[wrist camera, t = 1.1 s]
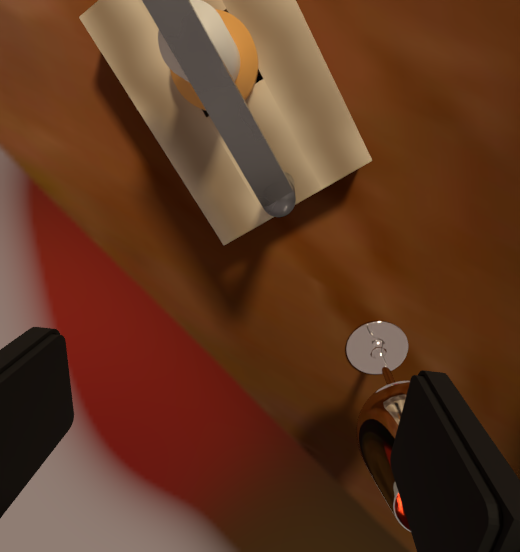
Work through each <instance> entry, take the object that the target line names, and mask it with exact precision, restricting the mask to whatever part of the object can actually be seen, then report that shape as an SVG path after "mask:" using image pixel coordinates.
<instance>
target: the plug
mask: <svg viewBox="0 0 520 552" xmlns="http://www.w3.org/2000/svg"><path fill="white" fill-rule="evenodd" d="M190 2H191V4H192V6H193V7H194V9H195V11H196V13H197V15H198V16H199V18H200V20H201V22H202V24H203V26H204V27H205V29H206V31H207V33H208V35H209V36H210V38H211V40H212V42H213V44H214V46H215V47H216V49H217V51H218V53H219V55H220V56H221V58H222V60H223V62H224V64H225V65H226V67H227V69H228V71H229V73H230V75H231V76H232V78H233V80H234V82H235V84H236V85H237V87H238V89H239V91H240V93H241V95H242V96H243V98H244V100H246V99H247V97H248V96H249V95H250V93H251V92H252V90H253V88H254V86H255V83H256V80H257V76H258V66H259V63H258V54H257V50H256V47H255V44H254V41H253V39H252V37H251V34H250V33H249V31H248V29H247V28H246V27H245V25H244V24H243V23H242V22H241V21H240V20H239V19H237V18H236V17H235V16H233V15H232V14H230V13H228V12H225V11H222V10H217V9H214V8H213V7H212V6H211V5H209V4H208V3H206V2H204V1H202V0H190ZM158 44H159V49H160V53H161V55H162V58H163V60H164V61H165V63H166V64H167V66H168V67H169V68H170V72H171V76H172V79H173V81H174V83H175V85H176V87H177V89H178V90H179V92H180V93H181V95H182V96H183V97H184V98H185V99H186V100H187V101H188V102H190V103H191V104H193V105H194V106H196V107H198V108H200V109H203V110H206V109H205V107H204V106H203V104H202V102H201V101H200V99H199V97H198V95H197V94H196V92H195V90H194V89H193V87H192V85H191V83H190V82H189V80H188V78H187V77H186V75H185V73H184V71H183V70H182V68H181V66H180V65H179V63H178V61H177V59H176V58H175V56H174V54H173V53H172V51H171V49H170V47H169V46H168V44H167V42H166V41H165V39H164V37H163V35H162V34H161V32H160V30H159V31H158Z"/></svg>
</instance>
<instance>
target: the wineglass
mask: <svg viewBox="0 0 520 552" xmlns="http://www.w3.org/2000/svg"><path fill="white" fill-rule="evenodd" d="M407 352H408V340H407V337H406V335H405V334H404V332H403V331H402V330H401V329H400V328H399V327H398V326H396V325H394V324H392V323H390V322H386V321H371V322H367V323H365V324H362V325H361V326H359V327H358V328H356V329H355V330H354V331H353V332H352V333H351V335H350V336H349V338H348V341H347V345H346V353H347V356H348V359H349V361H350V362H351V364H352V365H353V366H354V367H355V368H357V369H358V370H360V371H362V372H365V373H369V374H383V376H384V378H385V381H386V383H387V385H386V386H384V387H382V388H380V389H379V390H377V391H376V392H375V393H373V394H372V395H371V396H370V397H369V398H368V400H367V401H366V402H365V404H364V405H363V407H362V409H361V411H360V414H359V417H358V421H357V427H356V437H357V443H358V447H359V450H360V453H361V456H362V458H363V460H364V463H365V465H366V467H367V469H368V470H369V472H370V474H371V476H372V478H373V480H374V481H375V483H376V485H377V487H378V488H379V490H380V492H381V493H382V495H383V497H384V498H385V500H386V502H387V503H388V505H389V507H390V508H391V510H392V512H393V513H394V515H395V517H396V518H397V520H398V522H399V523H400V524H401V525H402V526H403V527H404V528H405V529H407V530H408V531H410V532H411V530H410V527H409V524H408V520H407V517H406V514H405V511H404V508H403V505H402V501H401V498H400V495H399V492H398V489H397V485H396V482H395V479H394V476H393V473H392V469H391V464H390V456H391V451H392V447H393V444H394V440H395V436H396V432H397V429H398V425H399V421H400V417H401V414H402V410H403V406H404V403H405V399H406V395H407V391H408V388H409V384H410V381H399V382H395V380H394V377H393V375H392V373H391V371H392V370H393V369H395V368H397V367H398V366H399V365H400V364H401V363H402V362H403V361H404V359H405V357H406V355H407Z"/></svg>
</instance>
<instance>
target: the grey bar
mask: <svg viewBox="0 0 520 552" xmlns="http://www.w3.org/2000/svg"><path fill="white" fill-rule="evenodd" d="M142 1H143V3H144V5H145V6H146V8H147V10H148V11H149V13H150V15H151V17H152V18H153V20H154V22H155V23H156V25H157V27H158V29H159V30H160V32H161V34H162V35H163V37H164V39H165V41H166V42H167V44H168V46H169V47H170V49H171V51H172V53H173V54H174V56H175V58H176V59H177V61H178V63H179V65H180V66H181V68H182V70H183V71H184V73H185V75H186V77H187V78H188V80H189V82H190V83H191V85H192V87H193V89H194V90H195V92H196V94H197V95H198V97H199V99H200V101H201V102H202V104H203V106H204V107H205V109H206V111H207V113H208V114H209V116H210V118H211V119H212V121H213V123H214V125H215V126H216V128H217V130H218V131H219V133H220V135H221V137H222V138H223V140H224V142H225V143H226V145H227V147H228V149H229V150H230V152H231V154H232V155H233V157H234V159H235V161H236V162H237V164H238V166H239V167H240V169H241V171H242V173H243V174H244V176H245V178H246V179H247V181H248V183H249V185H250V186H251V188H252V190H253V191H254V193H255V195H256V197H257V198H258V200H259V202H260V203H261V205H262V207H263V209H264V210H265V211H266V212H267V213H268V214H269V215H271V216H274V217H283V216H286V215H287V214H289V213H290V212H291V211H292V210H293V208H294V206H295V202H296V197H295V185H294V179H293V177H292V176H291V175H290V174H289V173H287V172H284V171H283V169H282V167H281V165H280V164H279V162H278V160H277V158H276V156H275V154H274V153H273V151H272V149H271V147H270V145H269V144H268V142H267V140H266V138H265V136H264V134H263V133H262V131H261V129H260V127H259V125H258V124H257V122H256V120H255V118H254V116H253V115H252V113H251V111H250V109H249V107H248V105H247V104H246V102H245V100H244V98H243V96H242V95H241V93H240V91H239V89H238V87H237V85H236V84H235V82H234V80H233V78H232V76H231V75H230V73H229V71H228V69H227V67H226V65H225V64H224V62H223V60H222V58H221V56H220V55H219V53H218V51H217V49H216V47H215V46H214V44H213V42H212V40H211V38H210V36H209V35H208V33H207V31H206V29H205V27H204V26H203V24H202V22H201V20H200V18H199V16H198V15H197V13H196V11H195V9H194V7H193V6H192V4H191V2H190V0H142Z"/></svg>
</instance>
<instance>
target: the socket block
mask: <svg viewBox="0 0 520 552" xmlns="http://www.w3.org/2000/svg"><path fill="white" fill-rule="evenodd" d="M202 1H204V2H206V3H208V4H209V5H211V6H212V7H213V8H214V9H217V10H222V11H225V12H228V13H230V14H232V15H233V16H235V17H236V18H237V19H239V20H240V21H241V22H242V23H243V24H244V25H245V27H246V28H247V29H248V31H249V33H250V34H251V37H252V39H253V41H254V44H255V47H256V50H257V54H258V63H259V66H258V71H259V73H260V75H261V77H262V80H261V81H259V82H258V83H256V84H255V86H254V88H253V90H252V92H251V93H250V95H249V96H248V97H247V99H246V100H245V102H246V104H247V105H248V107H249V109H250V111H251V113H252V115H253V116H254V118H255V120H256V122H257V124H258V125H259V127H260V129H261V131H262V133H263V134H264V136H265V138H266V140H267V142H268V144H269V145H270V147H271V149H272V151H273V153H274V154H275V156H276V158H277V160H278V162H279V164H280V165H281V167H282V169H283V171H284V172H287V173H289V174H290V175H291V176H292V177H293V179H294V185H295V197H296V202H295V205H296V204H297V203H299V202H301V201H303V200H304V199H306V198H308V197H310V196H311V195H313V194H315V193H317V192H318V191H320V190H322V189H324V188H325V187H327V186H329V185H331V184H332V183H334V182H336V181H338V180H339V179H341V178H343V177H344V176H346V175H348V174H350V173H351V172H353V171H355V170H357V169H358V168H360V167H362V166H364V165H365V164H367V163H369V162H371V161H372V159H371V157H370V155H369V153H368V151H367V148H366V146H365V144H364V142H363V140H362V138H361V136H360V134H359V132H358V130H357V128H356V125H355V123H354V121H353V119H352V117H351V115H350V113H349V111H348V109H347V107H346V105H345V102H344V100H343V98H342V96H341V94H340V92H339V90H338V88H337V86H336V84H335V82H334V79H333V77H332V75H331V73H330V71H329V69H328V67H327V65H326V63H325V61H324V59H323V56H322V54H321V52H320V50H319V48H318V46H317V44H316V42H315V40H314V38H313V36H312V33H311V31H310V29H309V27H308V25H307V23H306V21H305V19H304V17H303V15H302V12H301V10H300V8H299V6H298V4H297V2H296V0H202ZM79 18H80V20H81V21H82V23H83V24H84V26H85V27H86V29H87V31H88V32H89V34H90V35H91V37H92V39H93V40H94V42H95V43H96V45H97V46H98V48H99V50H100V51H101V53H102V54H103V56H104V57H105V59H106V61H107V62H108V64H109V65H110V67H111V69H112V70H113V72H114V73H115V75H116V76H117V78H118V80H119V81H120V83H121V84H122V86H123V87H124V89H125V91H126V92H127V94H128V95H129V97H130V98H131V100H132V102H133V103H134V105H135V106H136V108H137V110H138V111H139V113H140V114H141V116H142V117H143V119H144V121H145V122H146V124H147V125H148V127H149V128H150V130H151V132H152V133H153V135H154V136H155V138H156V140H157V141H158V143H159V144H160V146H161V147H162V149H163V151H164V152H165V154H166V155H167V157H168V158H169V160H170V162H171V163H172V165H173V166H174V168H175V169H176V171H177V173H178V174H179V176H180V177H181V179H182V181H183V182H184V184H185V185H186V187H187V188H188V190H189V192H190V193H191V195H192V196H193V198H194V199H195V201H196V203H197V204H198V206H199V207H200V209H201V211H202V212H203V214H204V215H205V217H206V218H207V220H208V222H209V223H210V225H211V226H212V228H213V229H214V231H215V233H216V234H217V236H218V237H219V239H220V240H221V242H222V244H223V245H226V244H228V243H229V242H231V241H233V240H235V239H236V238H238V237H240V236H242V235H243V234H245V233H247V232H249V231H250V230H252V229H254V228H256V227H257V226H259V225H261V224H263V223H264V222H266V221H268V220H270V219H271V218H273V217H274V216H271V215H269V214H268V213H267V212H266V211H265V210H264V209H263V207H262V205H261V203H260V202H259V200H258V198H257V197H256V195H255V193H254V191H253V190H252V188H251V186H250V185H249V183H248V181H247V179H246V178H245V176H244V174H243V173H242V171H241V169H240V167H239V166H238V164H237V162H236V161H235V159H234V157H233V155H232V154H231V152H230V150H229V149H228V147H227V145H226V143H225V142H224V140H223V138H222V137H221V135H220V133H219V131H218V130H217V128H216V126H215V125H214V123H213V121H212V119H211V118H210V116H209V114H208V113H207V111H206V110H203V109H200V108H198V107H196V106H194V105H193V104H191V103H190V102H188V101H187V100H186V99H185V98H184V97H183V96H182V95H181V93H180V92H179V90H178V89H177V87H176V85H175V83H174V81H173V79H172V76H171V72H170V68H169V67H168V66H167V64H166V63H165V61H164V60H163V58H162V55H161V53H160V49H159V44H158V31H159V29H158V27H157V25H156V23H155V22H154V20H153V18H152V17H151V15H150V13H149V11H148V10H147V8H146V6H145V5H144V3H143V1H142V0H99V1H97V2H96V3H95V4H94V5H93V6H91V7H90V8H89V9H88V10H87V11H86V12H84V13H83V14H82V15H81V16H80V17H79Z"/></svg>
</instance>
